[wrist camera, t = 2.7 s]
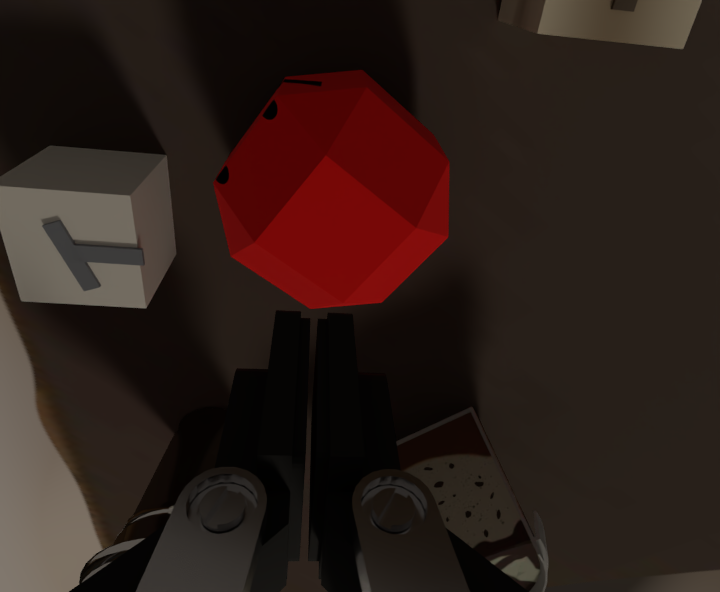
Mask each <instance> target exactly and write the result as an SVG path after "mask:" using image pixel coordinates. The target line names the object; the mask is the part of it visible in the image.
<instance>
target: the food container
mask: <svg viewBox="0 0 720 592" xmlns="http://www.w3.org/2000/svg"><path fill="white" fill-rule="evenodd" d="M396 443H397V449H398V456H399V462H400V469H401V471H404V472H407V473H410V474H411V475H413V476H415V477H417V478H418V479H420V480H421V481H422V482H423V483H424V484H425V485H426V486H427V487H428V488H429V490H430V491H431V493H432V495H433V497H434V498H435V501H436V504H437V506H438V509H439V511H440V514H441V517H442V519H443V522H444V525H445V527H446V528H447V529H449V530H450V531H451V532H452V533H454V534H455V535H456V536H458V537H459V538H460V539H461V540H463V541H464V542H465V543H467V544H468V545H469V546H470V547H472V548H473V549H474V550H476V551H477V552H478V553H479V554H481V555H482V556H483V557H485V558H486V559H487V560H488V561H490V562H491V563H492V564H494V565H495V566H496V567H498V568H499V569H500V570H501V571H503V572H504V573H505V574H507V575H508V576H509V577H510V578H512V579H513V580H514V581H516V582H517V583H518V584H519V585H521V586H522V587H523V588H525V589H526V590H527V591H528V592H544V591H545V588H546V585H547V571H548V553H547V546H546V539H545V532H544V528H543V524H542V520H541V518H540V517H539V515H538V513H537V511H533V516H534V523H535V531H536V537H534V535H533V533H532V530H531V528H530V526H529V524H528V522H527V520H526V518H525V516H524V513H523V511H522V509H521V507H520V505H519V503H518V501H517V498H516V496H515V494H514V492H513V490H512V488H511V486H510V484H509V481H508V479H507V477H506V475H505V473H504V471H503V469H502V467H501V464H500V462H499V460H498V458H497V456H496V454H495V452H494V449H493V447H492V445H491V443H490V441H489V439H488V437H487V435H486V432H485V430H484V428H483V426H482V424H481V422H480V420H479V418H478V415H477V414H476V412H475V410H474V408H473V407H470V408H468V409H466V410H463V411H461V412H459V413H457V414H455V415H453V416H450V417H448V418H446V419H444V420H442V421H439V422H437V423H435V424H433V425H431V426H429V427H426V428H424V429H422V430H420V431H418V432H416V433H413V434H411V435H409V436H407V437H405V438H403V439H400V440H398V441H396ZM327 592H328V591H327Z"/></svg>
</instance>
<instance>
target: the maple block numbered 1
mask: <svg viewBox="0 0 720 592" xmlns="http://www.w3.org/2000/svg"><path fill="white" fill-rule="evenodd" d="M701 1H702V0H502V2H501V7H500V12H499V16H498V20H499V21H501V22H504V23H507V24H510V25H513V26H516V27H519V28H522V29H525V30H528V31H531V32H534V33H537V34H546V35H555V36H565V37H574V38H583V39H593V40H602V41H611V42H621V43H630V44H640V45H649V46H658V47H668V48H677V49H683V48H684V45H685V43H686V40H687V38H688V35H689V33H690V30H691V27H692V25H693V22H694V20H695V17H696V14H697V12H698V9H699V7H700V4H701Z"/></svg>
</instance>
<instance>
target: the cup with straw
mask: <svg viewBox="0 0 720 592" xmlns="http://www.w3.org/2000/svg"><path fill="white" fill-rule="evenodd" d="M226 413H227V410H225V409H221V408H202V409H197V410H195V411H192V412H190V413H189V414H187V415H186V416H185V417H184V418H183V419H182V420H181V422H180V424H179V428H178V431H177V432H176V433H175V434H174V436H173V438H172V439H171V441H170V443H169V445H168V447H167V449H166V451H165V453H164V455H163V457H162V459H161V461H160V463H159V465H158V467H157V469H156V471H155V473H154V475H153V477H152V479H151V481H150V483H149V485H148V487H147V489H146V491H145V493H144V495H143V497H142V499H141V501H140V503H139V504H138V506H137V508H136V510H135V512H134V514H133V516H132V517H131V518H129V519H128V521H127V523H126V524H125V526H124V528H123V530H122V532H121V533H119V534H118V536H117V538H116V539H115V541H114V543H113V545H111V546H109V547H107V548H105V549H103V550H102V551H100V552H98V553H96V554H95V555H94V556H93V557H92V558H91V559H90V560H89V561H88V562H87V563H86V564H85V566H84V568H83V569H82V571H81V574H80V581H79V584H81V583H82V582H84V581H85V580H86V579H88V578H89V577H91V576H92V575H94V574H95V573H96V572H98V571H99V570H101V569H102V568H104V567H105V566H106V565H108V564H109V563H111V562H112V561H114V560H115V559H116V558H118V557H119V556H121V555H122V554H124V553H125V552H126V551H128V550H129V549H131V548H132V547H134V546H135V545H136V544H138V543H139V542H141V541H142V540H144V539H145V538H147V537H148V536H149V535H151V534H152V533H154V532H155V531H157V530H158V529H159V528H161V527H162V526H164V525H165V524H166V523H167V521H168V519H169V517H170V514H171V512H172V510H173V508H174V506H175V503H176V501H177V499H178V497H179V495H180V493H181V492H182V490H183V489H184V487H185V486H186V485H187V484H188V483H189V482H190V481H191V480H192V479H194V478H195V477H196V476H198V475H200V474H202V473H203V472H205V471H207V470H210V469H215V465H216V460H217V455H218V451H219V446H220V441H221V436H222V432H223V427H224V422H225V418H226Z"/></svg>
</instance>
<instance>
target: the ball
mask: <svg viewBox="0 0 720 592" xmlns="http://www.w3.org/2000/svg"><path fill="white" fill-rule="evenodd" d="M279 86H280V87H279V88H278V89H277V90H276V92H275V93H274V94H273V96H272V97H271V99H270V100H269V101H268V103H267V104H266V105H265V107H264V108H263V110H262V111H261V112H260V114H259V115H258V116H257V118H256V119H255V121H254V122H253V123H252V125H251V126H250V128H249V129H248V130H247V132H246V133H245V134H244V136H243V137H242V139H241V140H240V141H239V143H238V144H237V145H236V146H235V147H234V149H233V150H232V151H231V153H230V154H229V156H228V159H227V160H226V161H225V163H224V165H223V167H222V168H221V170H220V172H219V174H218V175H217V177H216V179H215V181H214V182H213V184H214V188H215V193H216V197H217V201H218V205H219V209H220V214H221V218H222V222H223V226H224V230H225V235H226V239H227V243H228V247H229V251H230V256H231V257H232V258H234V259H236V260H237V261H239V262H240V263H242V264H243V265H245V266H246V267H248V268H249V269H251V270H252V271H254V272H255V273H257V274H258V275H260V276H261V277H263V278H264V279H266V280H267V281H269V282H270V283H272V284H273V285H275V286H276V287H278V288H279V289H281V290H282V291H284V292H286V293H287V294H289V295H290V296H292V297H293V298H295V299H296V300H298V301H299V302H301V303H302V304H304V305H305V306H307V307H308V308H310V309H315V308H326V307H337V306H349V305H360V304H372V303H382V302H383V301H384V300H385V299H386V298H387V297H388V296H389V295H390V294H391V293H392V292H393V291H394V290H395V289H396V288H397V287H398V286H399V285H400V284H401V283H402V282H403V281H404V280H405V279H406V278H407V277H408V276H409V275H410V274H411V273H412V272H413V271H414V270H415V269H416V268H417V267H418V266H419V265H420V264H421V263H422V262H423V261H424V260H426V259H427V258H428V257H429V256H430V255H431V254H432V253H433V252H434V251H435V250H436V249H437V248H438V247H439V246H440V245H441V244H442V243H443V242H444V241H445V240H446V239H447V238H448V230H449V160H448V158H447V157H446V155H445V153H444V152H443V150H442V148H441V146H440V145H439V143H438V141H437V140H436V138H435V136H434V135H433V134H432V133H431V132H430V131H429V130H428V129H427V128H426V127H425V126H423V125H422V124H421V123H420V122H419V121H418V120H417V119H416V118H415V117H414V116H413V115H411V114H410V113H409V112H408V111H407V110H406V109H405V108H404V107H403V106H402V105H400V104H399V103H398V102H397V101H396V100H395V99H394V98H393V97H392V96H391V95H390V94H388V93H387V92H386V91H385V90H384V89H383V88H382V87H381V86H380V85H379V84H378V83H376V82H375V81H374V80H373V79H372V78H371V77H370V76H369V75H368V74H367V73H365V72H364V71H363V70H353V71H343V72H332V73H321V74H310V75H299V76H288V77H285V78H284V80H283V81H282V82H281V84H280V85H279Z"/></svg>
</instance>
